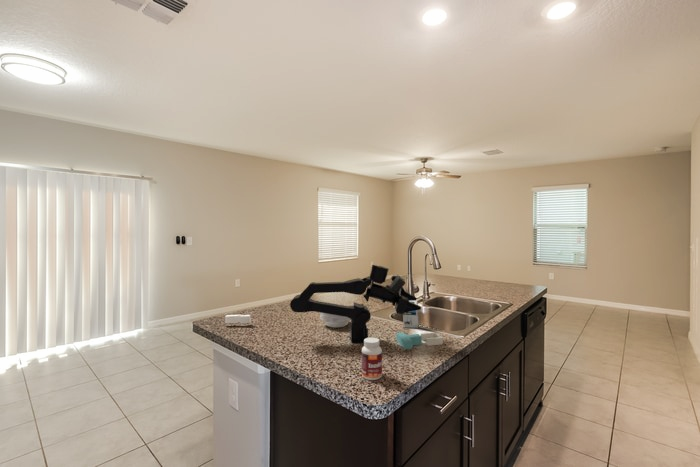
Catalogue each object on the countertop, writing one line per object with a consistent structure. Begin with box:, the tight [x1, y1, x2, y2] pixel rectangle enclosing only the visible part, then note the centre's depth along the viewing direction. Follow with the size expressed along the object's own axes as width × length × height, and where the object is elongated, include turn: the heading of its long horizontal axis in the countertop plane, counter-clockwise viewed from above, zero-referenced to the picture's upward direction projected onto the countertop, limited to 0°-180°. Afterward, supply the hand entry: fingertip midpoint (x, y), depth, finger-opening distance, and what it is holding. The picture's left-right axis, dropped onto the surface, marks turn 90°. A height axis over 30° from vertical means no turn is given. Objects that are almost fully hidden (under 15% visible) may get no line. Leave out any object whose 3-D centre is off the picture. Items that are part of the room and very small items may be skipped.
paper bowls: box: [320, 313, 351, 328], centre depth 150 cm, size 15×15×8 cm
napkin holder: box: [224, 314, 252, 324], centre depth 151 cm, size 15×11×6 cm
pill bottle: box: [361, 337, 383, 381], centre depth 97 cm, size 6×6×11 cm
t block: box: [395, 331, 423, 350], centre depth 124 cm, size 8×10×3 cm
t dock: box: [419, 332, 444, 346], centre depth 125 cm, size 6×7×2 cm
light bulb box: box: [402, 299, 419, 329], centre depth 149 cm, size 11×7×11 cm, turn 168°
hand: (418, 303), depth 129 cm, fingers open, 9 cm apart
